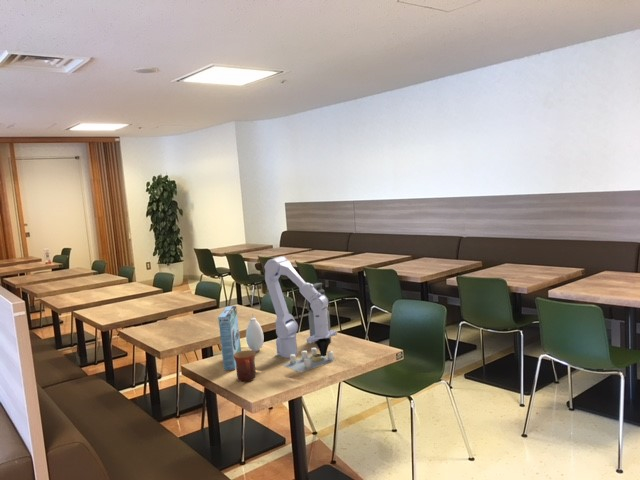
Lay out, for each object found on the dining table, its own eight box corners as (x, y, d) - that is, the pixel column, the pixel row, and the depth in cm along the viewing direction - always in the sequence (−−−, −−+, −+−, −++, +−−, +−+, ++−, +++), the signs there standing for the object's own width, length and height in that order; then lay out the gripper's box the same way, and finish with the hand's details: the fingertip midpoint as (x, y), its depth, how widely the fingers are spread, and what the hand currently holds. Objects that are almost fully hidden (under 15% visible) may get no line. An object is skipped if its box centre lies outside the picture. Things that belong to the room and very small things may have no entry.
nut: (309, 360, 217) (309, 356, 217) (315, 357, 220) (315, 353, 220) (318, 362, 214) (317, 357, 214) (324, 359, 217) (323, 354, 217)
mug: (234, 377, 207) (231, 352, 206) (256, 373, 209) (253, 349, 208) (238, 387, 195) (235, 361, 194) (261, 383, 198) (258, 357, 196)
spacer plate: (282, 366, 215) (281, 356, 214) (317, 355, 225) (316, 345, 225) (300, 374, 204) (299, 363, 204) (336, 362, 215) (335, 352, 215)
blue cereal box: (235, 370, 215) (229, 316, 213) (222, 370, 215) (217, 317, 213) (241, 354, 235) (237, 305, 232) (230, 355, 235) (225, 306, 232)
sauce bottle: (244, 351, 239) (240, 313, 237) (258, 347, 244) (255, 309, 242) (253, 354, 233) (250, 315, 231) (267, 350, 238) (264, 312, 236)
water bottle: (323, 347, 236) (318, 287, 233) (306, 344, 242) (301, 286, 239) (335, 340, 245) (330, 282, 242) (318, 338, 250) (313, 281, 247)
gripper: (312, 329, 210) (315, 362, 212) (340, 322, 219) (342, 353, 220) (302, 326, 216) (305, 358, 217) (330, 319, 224) (332, 349, 226)
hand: (323, 355), depth 219 cm, fingers closed
